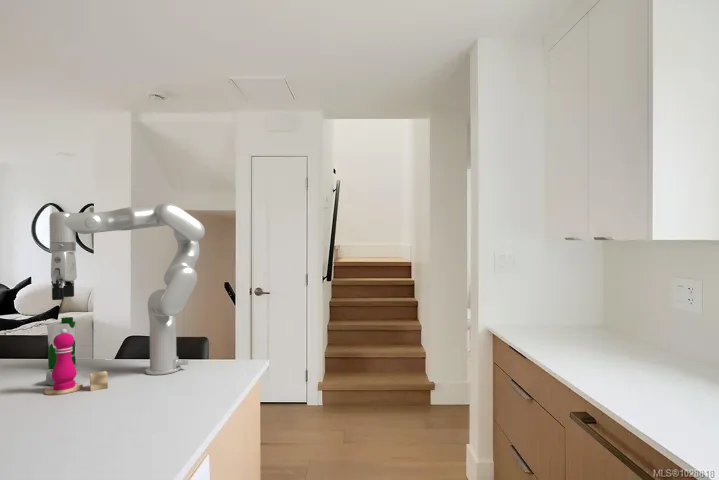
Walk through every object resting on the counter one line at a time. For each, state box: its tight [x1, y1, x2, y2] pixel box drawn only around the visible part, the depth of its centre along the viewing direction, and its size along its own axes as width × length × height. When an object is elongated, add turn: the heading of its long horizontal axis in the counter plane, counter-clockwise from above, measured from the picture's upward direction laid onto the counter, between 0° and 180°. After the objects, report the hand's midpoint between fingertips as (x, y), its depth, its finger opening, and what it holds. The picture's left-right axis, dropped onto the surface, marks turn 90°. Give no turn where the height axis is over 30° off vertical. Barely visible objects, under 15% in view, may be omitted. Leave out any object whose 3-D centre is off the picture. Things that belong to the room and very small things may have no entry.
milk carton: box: [46, 316, 77, 370], centre depth 188 cm, size 9×9×20 cm
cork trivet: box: [43, 382, 84, 396], centre depth 156 cm, size 11×11×1 cm
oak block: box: [89, 370, 109, 392], centre depth 158 cm, size 5×5×5 cm
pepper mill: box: [52, 329, 78, 390], centre depth 156 cm, size 7×7×20 cm
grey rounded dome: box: [45, 369, 55, 386], centre depth 165 cm, size 8×8×4 cm
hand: (63, 298), depth 157 cm, fingers open, 9 cm apart
